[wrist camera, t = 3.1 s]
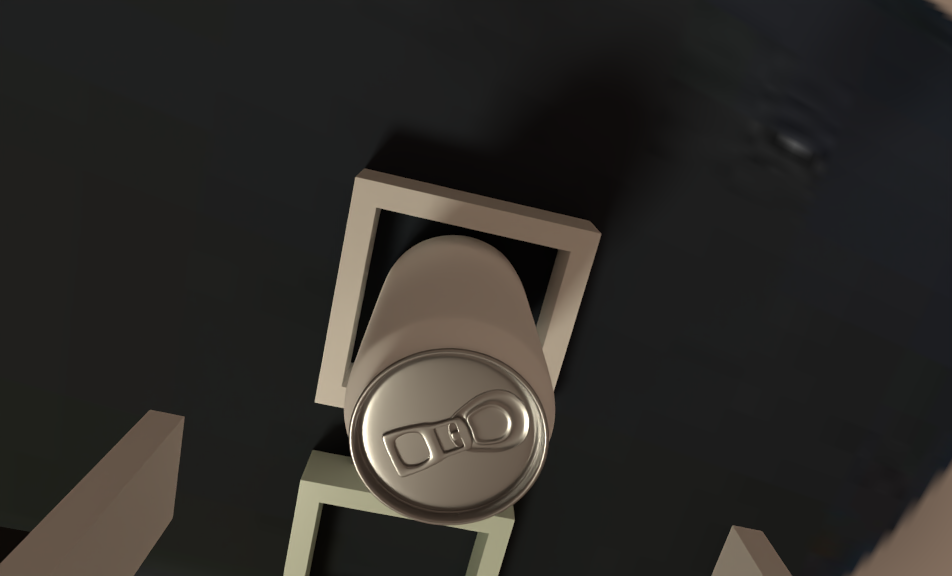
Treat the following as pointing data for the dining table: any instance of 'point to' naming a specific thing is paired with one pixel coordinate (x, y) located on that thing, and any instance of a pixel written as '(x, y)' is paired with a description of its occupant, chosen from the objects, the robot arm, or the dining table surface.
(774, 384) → the dining table surface
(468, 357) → the can
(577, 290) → the socket panel
